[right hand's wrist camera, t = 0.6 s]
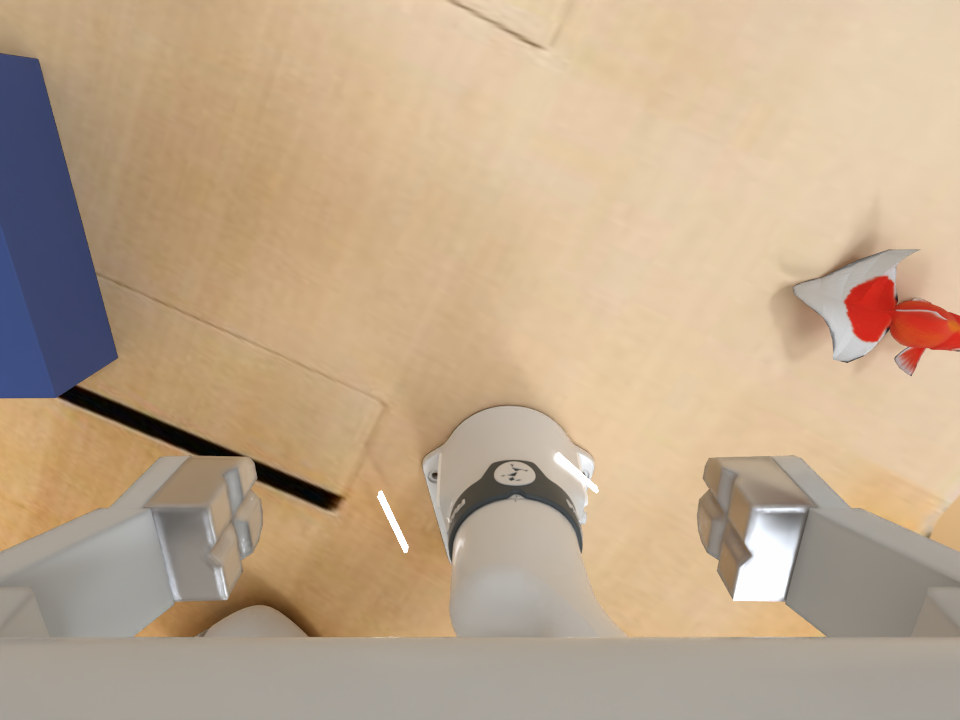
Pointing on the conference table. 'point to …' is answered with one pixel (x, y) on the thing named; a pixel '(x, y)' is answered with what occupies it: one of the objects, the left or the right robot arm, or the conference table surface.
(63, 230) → the box
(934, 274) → the conference table surface
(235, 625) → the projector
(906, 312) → the fish
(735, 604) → the conference table surface
